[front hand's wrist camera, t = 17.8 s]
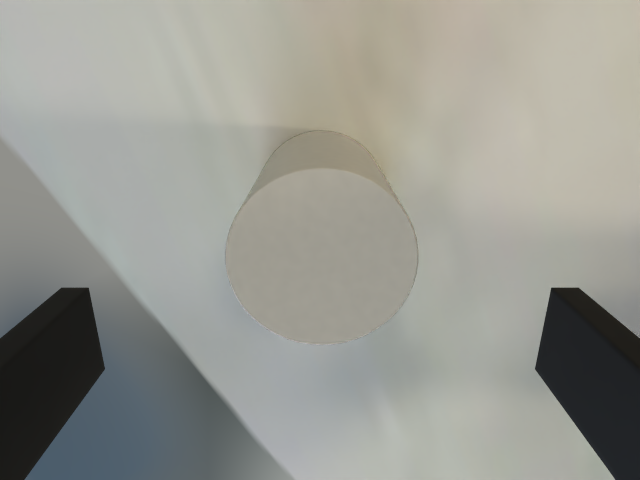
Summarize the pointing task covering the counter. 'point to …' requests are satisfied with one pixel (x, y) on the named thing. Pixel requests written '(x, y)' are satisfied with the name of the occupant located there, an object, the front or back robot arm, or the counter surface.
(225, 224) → the counter surface
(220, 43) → the counter surface
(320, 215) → the canister
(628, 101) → the counter surface
